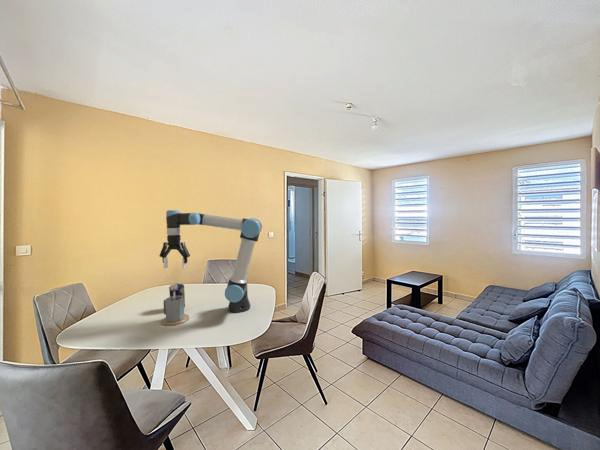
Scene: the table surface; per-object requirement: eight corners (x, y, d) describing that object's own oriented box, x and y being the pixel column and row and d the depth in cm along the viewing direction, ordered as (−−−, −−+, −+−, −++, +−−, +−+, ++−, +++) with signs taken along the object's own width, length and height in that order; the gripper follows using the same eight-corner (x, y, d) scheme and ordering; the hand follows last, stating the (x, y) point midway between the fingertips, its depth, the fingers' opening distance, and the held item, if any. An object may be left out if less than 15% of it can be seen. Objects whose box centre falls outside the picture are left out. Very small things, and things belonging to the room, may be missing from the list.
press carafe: (194, 316, 163) (193, 295, 163) (177, 326, 148) (176, 303, 147) (173, 314, 167) (172, 293, 166) (154, 324, 151) (153, 302, 151)
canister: (179, 312, 171) (178, 286, 170) (166, 311, 173) (165, 285, 172) (188, 306, 180) (187, 282, 180) (176, 306, 182) (175, 281, 181)
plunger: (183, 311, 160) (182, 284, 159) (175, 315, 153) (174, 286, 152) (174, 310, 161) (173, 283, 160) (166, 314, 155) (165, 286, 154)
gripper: (195, 234, 158) (196, 267, 159) (161, 234, 163) (162, 266, 164) (187, 235, 151) (189, 269, 152) (152, 235, 156) (153, 268, 157)
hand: (175, 268), depth 158 cm, fingers open, 13 cm apart
